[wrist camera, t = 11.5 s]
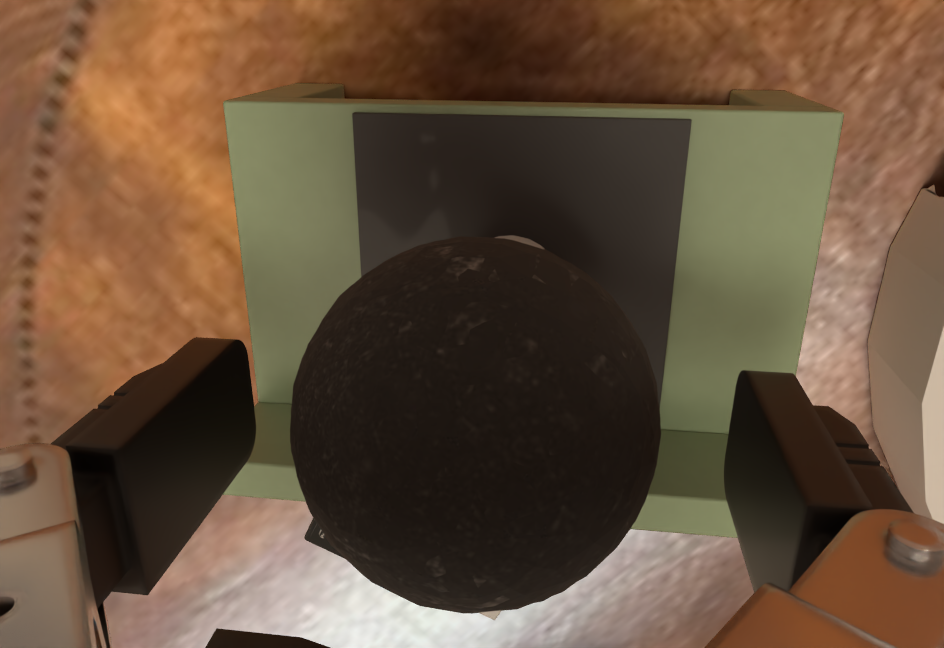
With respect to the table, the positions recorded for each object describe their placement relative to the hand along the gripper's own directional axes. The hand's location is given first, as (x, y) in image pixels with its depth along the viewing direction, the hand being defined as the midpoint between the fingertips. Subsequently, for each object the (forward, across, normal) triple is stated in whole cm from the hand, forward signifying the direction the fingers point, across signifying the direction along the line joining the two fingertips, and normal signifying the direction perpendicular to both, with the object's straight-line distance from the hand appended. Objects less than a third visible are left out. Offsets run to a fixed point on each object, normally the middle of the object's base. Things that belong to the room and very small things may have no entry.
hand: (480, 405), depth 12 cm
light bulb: (+7, 0, 0) cm, 7 cm away
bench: (+12, 0, 0) cm, 12 cm away
